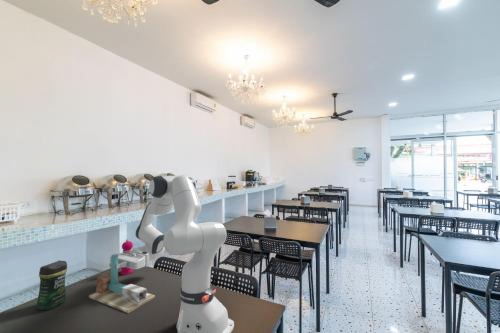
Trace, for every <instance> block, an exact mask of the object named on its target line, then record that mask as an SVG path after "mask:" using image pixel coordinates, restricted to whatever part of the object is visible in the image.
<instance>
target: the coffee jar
mask: <svg viewBox="0 0 500 333" xmlns="http://www.w3.org/2000/svg"><path fill="white" fill-rule="evenodd" d="M67 270H68V263H67V261H65V260H57V261H55V262H51V263H48V264H46V265H42V266H41V267H39V273H38V277H39V283H40V284H39V288H38V289H39V290H38V296H37V302H36V309H37V310H39V311H47V310H52V309H54V308H56V307H57V306H59V305H61V304H63V303H64V302H65V301H66V298H67V297H66V296H67V294H66V293H67V292H66V274H67Z"/></svg>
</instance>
